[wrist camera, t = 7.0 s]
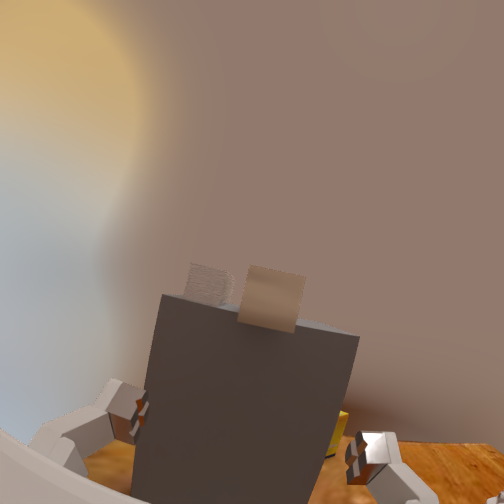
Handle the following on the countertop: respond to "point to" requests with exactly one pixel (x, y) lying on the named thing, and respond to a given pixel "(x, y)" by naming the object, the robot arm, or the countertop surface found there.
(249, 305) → the long maple bar
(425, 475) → the countertop surface
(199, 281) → the pale wood bar
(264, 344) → the charcoal stand
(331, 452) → the supplement box
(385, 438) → the robot arm
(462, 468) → the countertop surface
